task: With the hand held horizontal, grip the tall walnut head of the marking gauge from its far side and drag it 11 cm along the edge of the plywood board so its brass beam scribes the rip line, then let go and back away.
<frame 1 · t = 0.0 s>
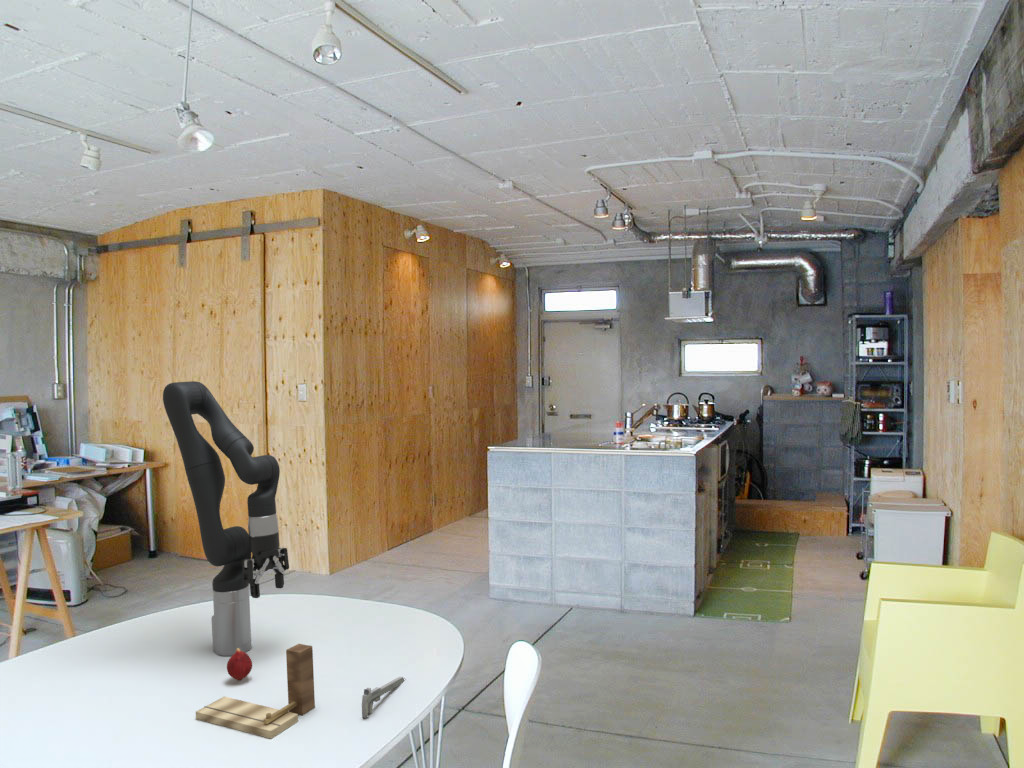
hand: (267, 592, 198), 17 cm above the table, tool pointing down, fingers open, 8 cm apart
caliper: (385, 700, 173), on the table
gauge: (286, 687, 164), point 7 cm above the table, slide at 0.0 cm
board: (246, 720, 164), on the table
onion: (240, 681, 185), on the table
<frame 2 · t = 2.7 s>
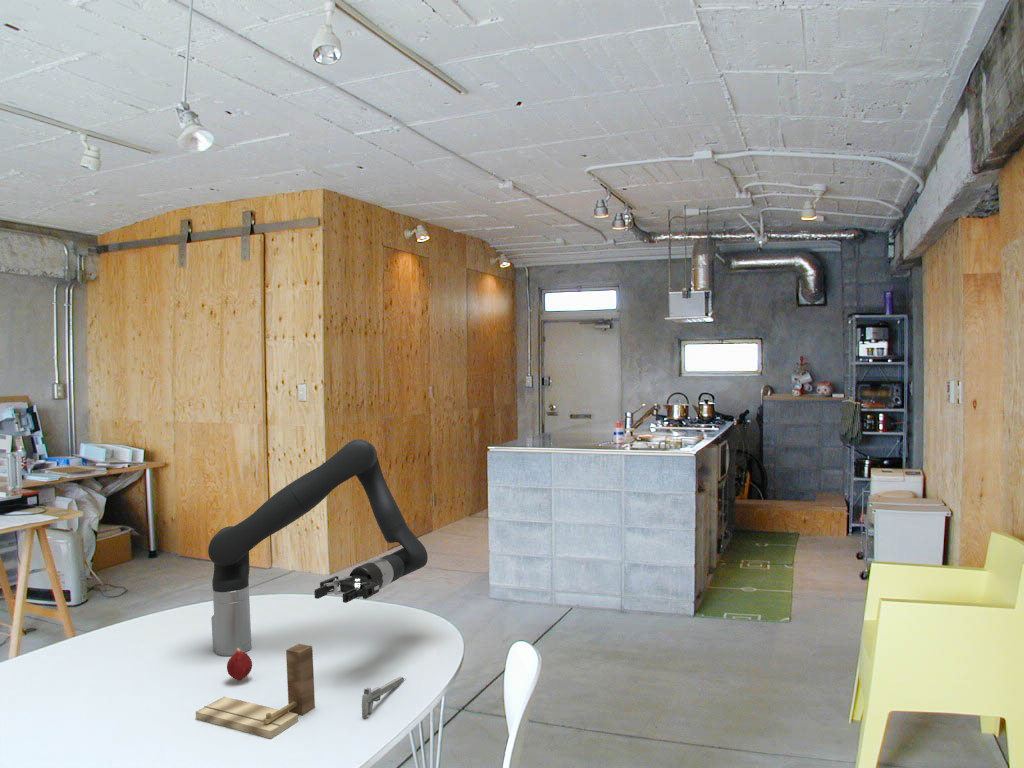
hand: (329, 596, 177), 22 cm above the table, tool horizontal, fingers open, 8 cm apart
nothing on the table moved.
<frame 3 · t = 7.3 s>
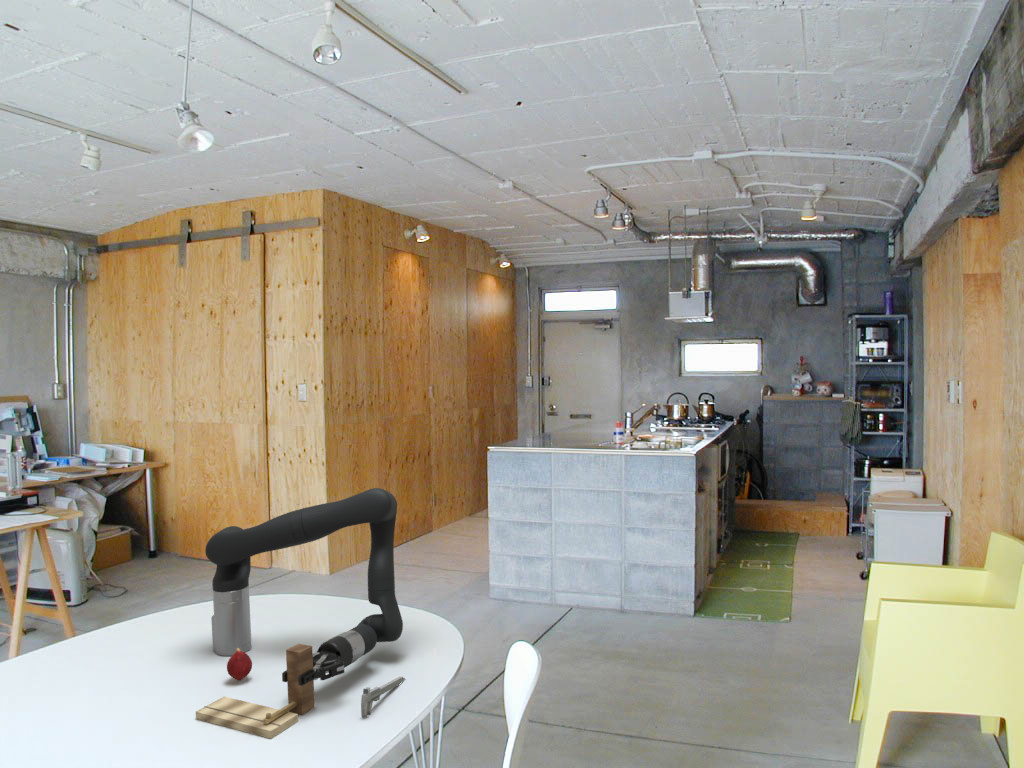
hand: (291, 679, 165), 8 cm above the table, tool horizontal, fingers closed on gauge, 4 cm apart
gauge: (286, 687, 164), point 7 cm above the table, slide at 0.0 cm, touching gripper
everything else where it was.
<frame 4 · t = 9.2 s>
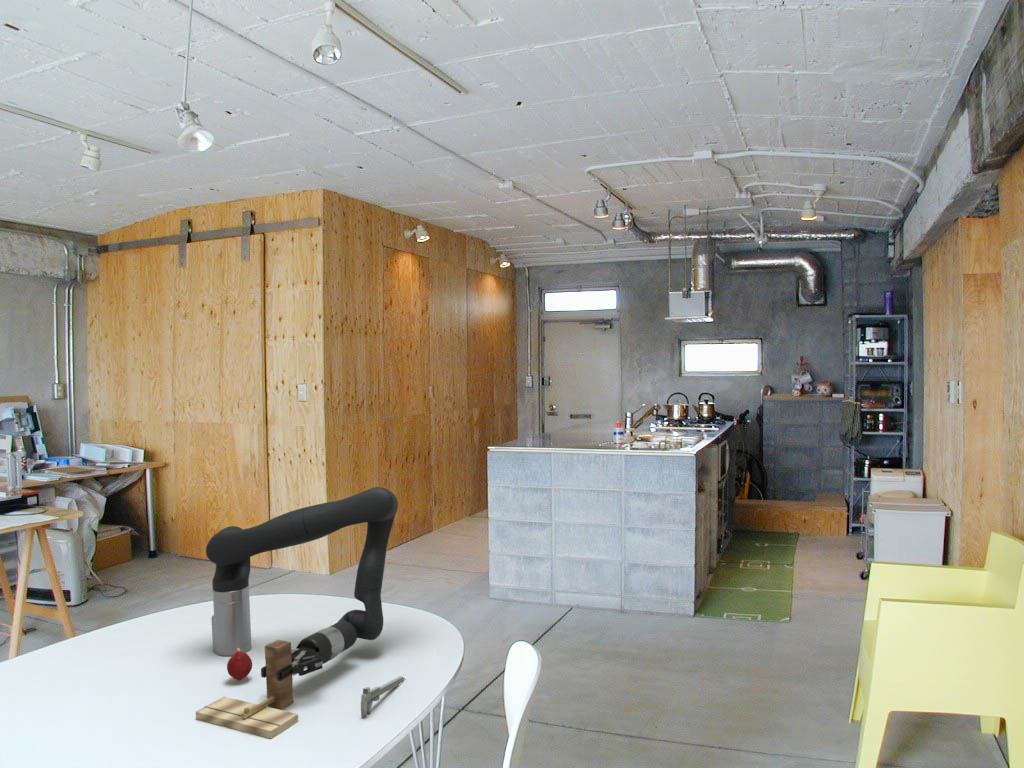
hand: (270, 674, 168), 8 cm above the table, tool horizontal, fingers closed on gauge, 4 cm apart
gauge: (264, 682, 167), point 7 cm above the table, slide at 6.3 cm, touching gripper
everything else where it was.
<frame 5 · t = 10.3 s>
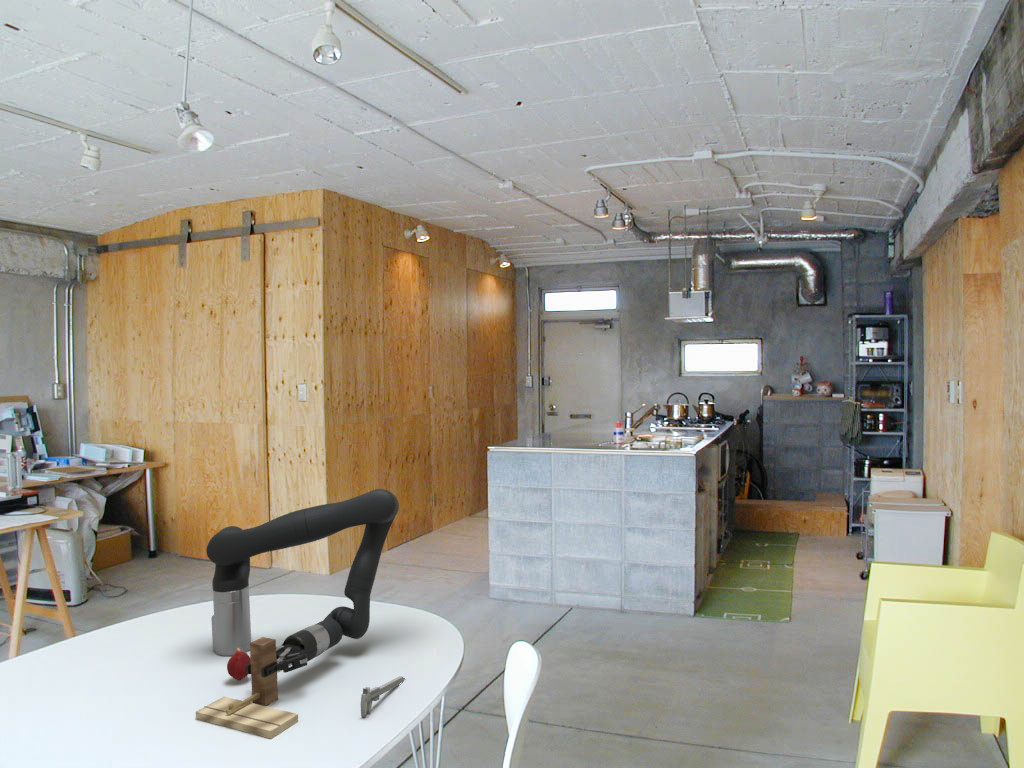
hand: (255, 671, 170), 8 cm above the table, tool horizontal, fingers closed on gauge, 4 cm apart
gauge: (249, 679, 169), point 7 cm above the table, slide at 10.9 cm, touching gripper
everything else where it was.
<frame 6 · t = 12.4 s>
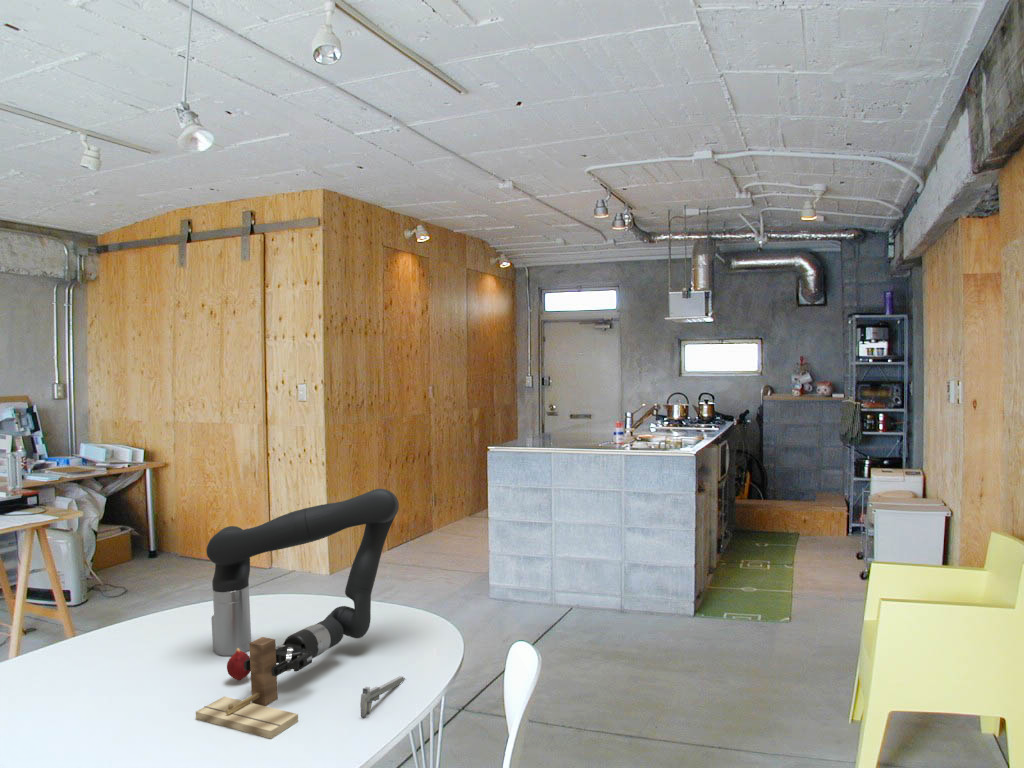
hand: (258, 669, 172), 8 cm above the table, tool horizontal, fingers open, 8 cm apart
gauge: (248, 678, 169), point 7 cm above the table, slide at 11.0 cm
everything else where it was.
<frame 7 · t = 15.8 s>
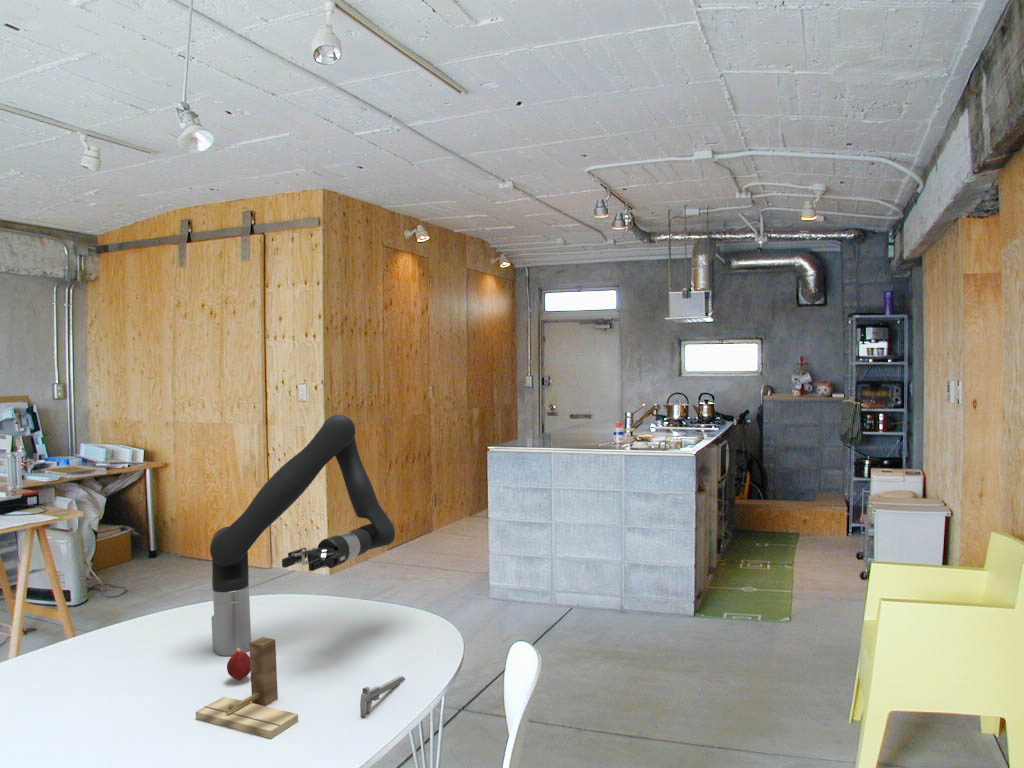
hand: (296, 565, 184), 28 cm above the table, tool horizontal, fingers open, 8 cm apart
nothing on the table moved.
at the end: gauge slide at 11.0 cm; the gripper is holding nothing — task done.
